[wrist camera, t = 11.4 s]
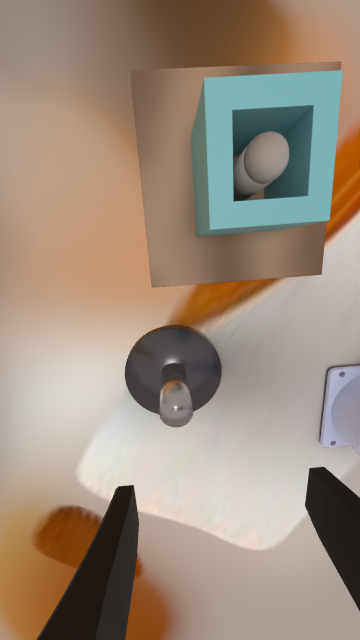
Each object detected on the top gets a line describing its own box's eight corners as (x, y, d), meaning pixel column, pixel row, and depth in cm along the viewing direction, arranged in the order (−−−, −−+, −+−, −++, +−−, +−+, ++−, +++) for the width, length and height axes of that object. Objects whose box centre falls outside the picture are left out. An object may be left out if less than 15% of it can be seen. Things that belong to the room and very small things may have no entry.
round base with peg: (218, 321, 19) (239, 348, 13) (220, 405, 21) (239, 457, 15) (120, 329, 18) (102, 360, 13) (132, 413, 20) (120, 469, 15)
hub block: (327, 76, 15) (447, -54, 8) (311, 273, 18) (389, 283, 12) (132, 85, 14) (107, -46, 8) (152, 285, 18) (145, 302, 11)
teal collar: (283, 131, 14) (342, 70, 10) (279, 230, 16) (329, 220, 11) (190, 137, 14) (204, 77, 9) (196, 236, 16) (210, 229, 11)
